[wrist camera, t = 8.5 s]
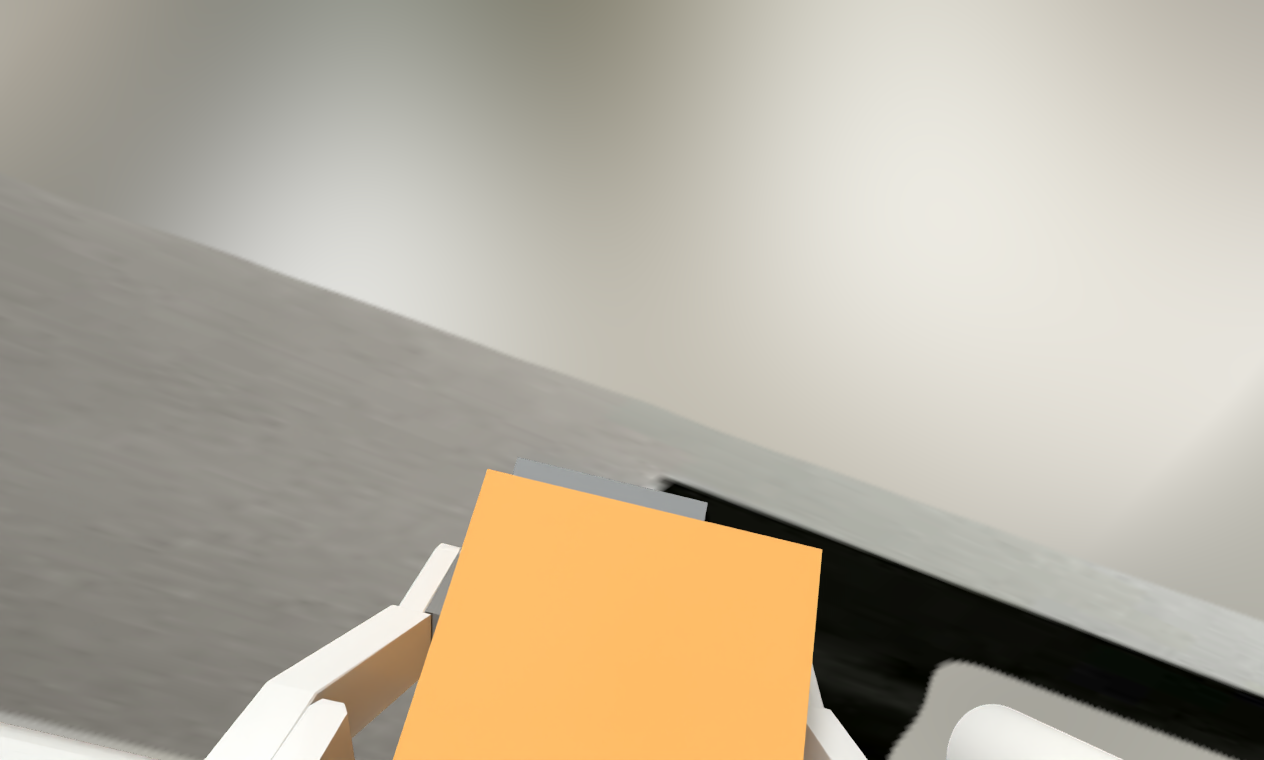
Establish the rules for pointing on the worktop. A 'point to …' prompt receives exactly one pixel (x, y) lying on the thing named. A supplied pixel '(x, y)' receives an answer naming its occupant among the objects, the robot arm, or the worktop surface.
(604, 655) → the orange rectangular block
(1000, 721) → the cylindrical container
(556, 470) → the plate
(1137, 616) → the worktop surface
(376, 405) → the worktop surface
